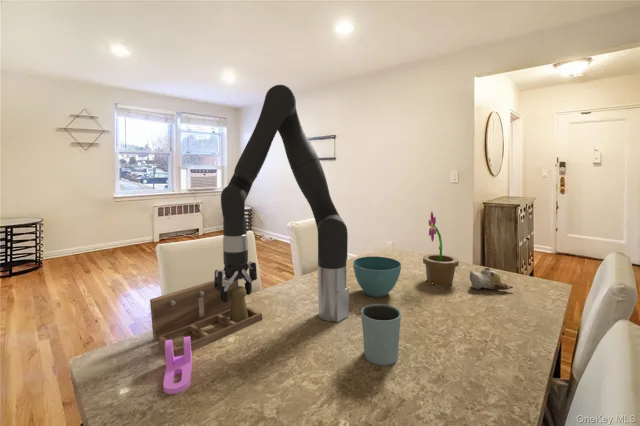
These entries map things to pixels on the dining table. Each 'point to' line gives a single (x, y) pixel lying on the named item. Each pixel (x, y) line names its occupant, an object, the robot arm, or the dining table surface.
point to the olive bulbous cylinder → (238, 304)
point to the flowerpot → (439, 261)
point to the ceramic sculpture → (487, 280)
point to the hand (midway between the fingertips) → (237, 297)
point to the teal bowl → (376, 274)
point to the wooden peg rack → (195, 315)
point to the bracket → (177, 367)
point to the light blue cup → (381, 333)
